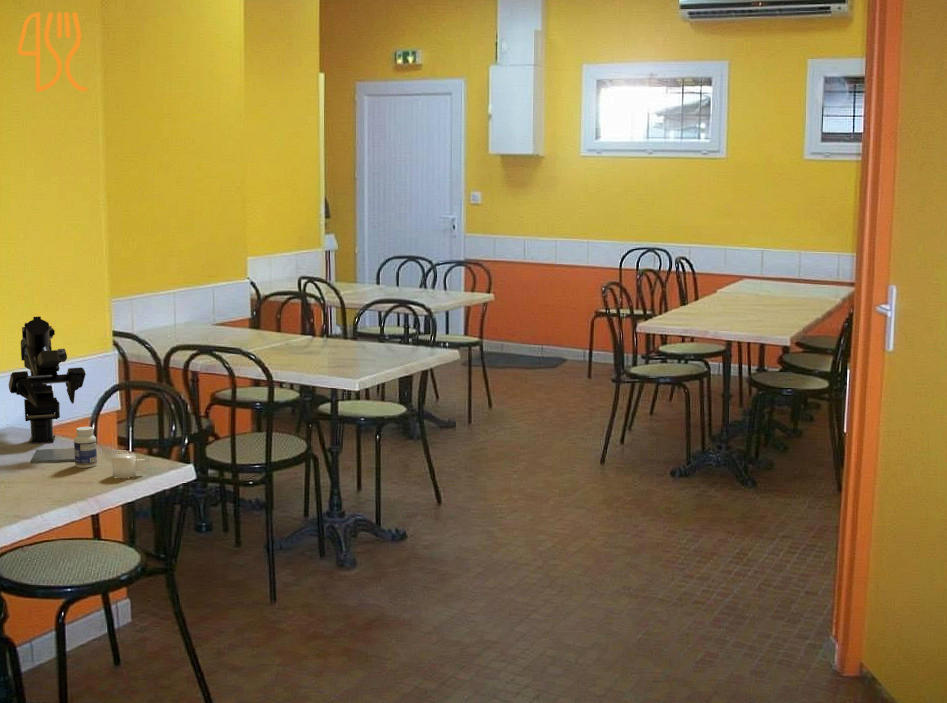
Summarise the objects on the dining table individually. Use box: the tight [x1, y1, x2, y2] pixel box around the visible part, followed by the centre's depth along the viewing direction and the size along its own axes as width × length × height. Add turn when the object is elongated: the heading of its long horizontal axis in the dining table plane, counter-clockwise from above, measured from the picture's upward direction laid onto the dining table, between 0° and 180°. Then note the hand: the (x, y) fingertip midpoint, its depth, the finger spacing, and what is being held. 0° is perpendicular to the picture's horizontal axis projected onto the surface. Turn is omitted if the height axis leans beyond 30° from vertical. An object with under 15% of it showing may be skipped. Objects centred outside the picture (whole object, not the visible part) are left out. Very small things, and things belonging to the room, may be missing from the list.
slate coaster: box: [30, 447, 75, 464], centre depth 309 cm, size 12×12×1 cm
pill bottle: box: [73, 426, 98, 469], centre depth 300 cm, size 5×5×10 cm
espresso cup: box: [111, 453, 146, 479], centre depth 291 cm, size 6×8×5 cm
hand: (55, 404), depth 306 cm, fingers open, 9 cm apart
